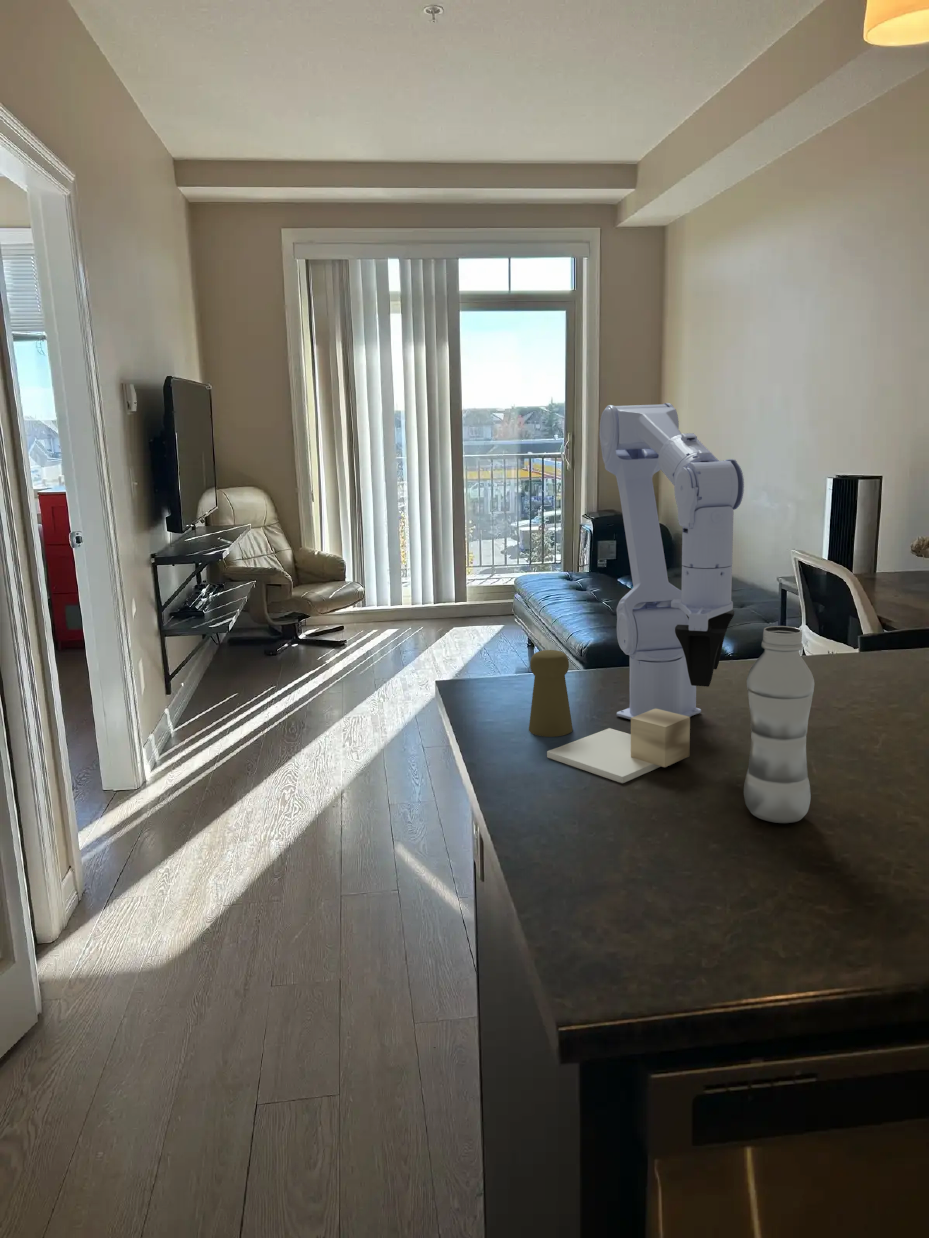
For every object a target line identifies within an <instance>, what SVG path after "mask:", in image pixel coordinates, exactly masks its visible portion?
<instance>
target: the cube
mask: <svg viewBox="0 0 929 1238" xmlns="http://www.w3.org/2000/svg"><path fill="white" fill-rule="evenodd" d="M690 729H691V716H690V717H689V716H685V715H680V714H676V713H672V712H668V711H664V710H660V709H656V708H655V709H653V710H650V711H648V712H645V713H642V714H640V715H637V716H635V717H632V718H631V720H630V734H631V757H632V758H635V759H639V760H642V761H645V762H649V763H652V764H655V765H658V766H661V767H662V768H667V767H668V766H672V765H673V764H675V763H677V762H680V761H682V760H684V759H686V758H689V757H690V743H691V742H690V741H691V739H690V737H691V736H690V733H691V730H690Z"/></svg>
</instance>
